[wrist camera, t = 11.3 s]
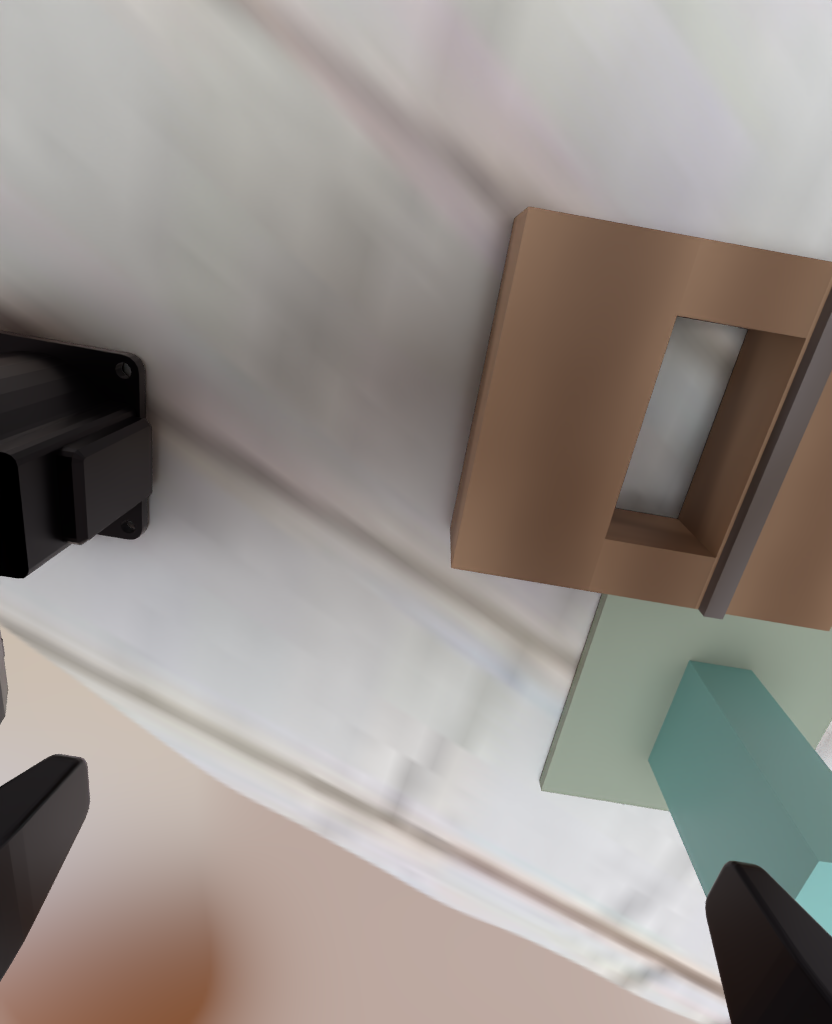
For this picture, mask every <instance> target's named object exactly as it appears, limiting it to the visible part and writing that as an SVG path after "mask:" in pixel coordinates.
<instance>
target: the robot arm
mask: <svg viewBox="0 0 832 1024" xmlns="http://www.w3.org/2000/svg"><path fill="white" fill-rule="evenodd" d="M123 363H126V364H128V366H129V367H130V368H131V372H132V373H131V376H130V377H129V376H127V375H125V373H124V372H123V370H122V365H123ZM151 493H152V427H151V425H150V424H149V422H148V421H147V419H146V391H145V368H144V365H143V363H142V361H141V360H140V359H139V358H138V357H137V356H136V355H133V354H130V353H126V352H120V351H114V350H108V349H103V348H97V347H91V346H86V345H80V344H74V343H68V342H63V341H57V340H51V339H45V338H40V337H34V336H28V335H23V334H17V333H11V332H5V331H0V576H6V577H12V578H25V577H26V576H28V575H29V574H30V573H32V572H33V571H35V570H36V569H37V568H39V567H40V566H42V565H43V564H44V563H46V562H47V561H49V560H50V559H51V558H53V557H54V556H56V555H57V554H58V553H60V552H61V551H62V550H64V549H65V548H67V547H68V546H69V545H71V544H78V545H82V544H84V543H86V542H87V541H88V540H90V539H91V538H92V537H94V536H95V535H96V534H99V535H105V536H111V537H117V538H123V539H136V538H138V537H139V536H141V535H142V534H143V533H144V532H145V531H146V529H147V525H148V522H147V497H148V496H149V495H150V494H151ZM127 520H129V521H131V522H132V523H133V524H134V525H135V529H133V528H130V527H129V526H128V524H127ZM4 656H5V654H4V646H3V639H2V638H1V632H0V724H1V722H2V720H3V719H4V717H5V713H6V703H7V694H8V685H7V678H6V670H5V662H4ZM89 804H90V793H89V779H88V766H87V762H86V761H85V760H84V759H83V758H81V757H76V756H69V755H62V754H55V755H52V756H50V757H48V758H46V759H44V760H43V761H41V762H39V763H38V764H36V765H34V766H33V767H31V768H30V769H28V770H26V771H25V772H23V773H22V774H20V775H18V776H17V777H15V778H14V779H12V780H10V781H9V782H7V783H5V784H4V785H2V786H1V787H0V981H1V979H2V978H3V976H4V975H5V973H6V971H7V970H8V968H9V966H10V965H11V963H12V961H13V960H14V958H15V956H16V954H17V953H18V951H19V949H20V948H21V946H22V944H23V942H24V941H25V939H26V937H27V935H28V933H29V931H30V929H31V927H32V925H33V923H34V921H35V919H36V917H37V915H38V913H39V911H40V909H41V907H42V905H43V903H44V901H45V899H46V897H47V895H48V893H49V891H50V889H51V887H52V885H53V883H54V881H55V879H56V877H57V875H58V873H59V870H60V869H61V867H62V865H63V863H64V861H65V859H66V856H67V854H68V853H69V851H70V848H71V846H72V844H73V842H74V840H75V838H76V836H77V834H78V832H79V830H80V828H81V826H82V824H83V822H84V820H85V818H86V815H87V812H88V809H89ZM705 909H706V918H707V922H708V926H709V931H710V935H711V939H712V943H713V948H714V952H715V956H716V960H717V965H718V969H719V973H720V978H721V982H722V986H723V990H724V995H725V999H726V1003H727V1007H728V1012H729V1016H730V1020H731V1024H832V936H831V935H830V934H829V933H828V932H827V931H826V930H825V929H824V928H823V927H822V926H821V925H820V924H819V923H818V922H817V921H816V920H815V919H814V918H813V917H812V916H811V915H810V914H809V913H808V912H807V911H806V910H805V909H804V908H803V907H802V906H801V905H800V904H799V903H798V902H797V901H796V900H795V899H793V898H792V897H791V896H790V895H789V894H788V893H787V892H786V891H785V890H784V889H783V888H782V887H781V886H780V885H779V884H778V883H777V882H776V881H775V880H774V879H773V878H772V877H771V876H770V875H769V874H768V873H767V872H766V871H765V870H764V869H763V868H761V867H760V866H758V865H756V864H752V863H746V862H739V861H729V862H727V863H725V864H724V866H723V867H722V869H721V871H720V873H719V875H718V877H717V879H716V880H715V882H714V884H713V886H712V888H711V890H710V891H709V893H708V895H707V899H706V906H705Z"/></svg>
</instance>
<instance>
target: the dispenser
mask: <svg viewBox="0 0 832 1024" xmlns="http://www.w3.org/2000/svg"><path fill="white" fill-rule="evenodd" d="M677 316H679V317H685V318H690V319H696V320H702V321H707V322H713V323H718V324H724V325H729V326H735V327H740V328H746V329H748V332H747V334H746V337H745V340H744V343H743V345H742V348H741V351H740V353H739V356H738V359H737V361H736V364H735V367H734V369H733V372H732V375H731V377H730V380H729V383H728V386H727V388H726V391H725V394H724V396H723V399H722V402H721V404H720V407H719V410H718V412H717V415H716V418H715V420H714V423H713V426H712V429H711V431H710V434H709V437H708V439H707V442H706V445H705V447H704V450H703V453H702V455H701V458H700V461H699V464H698V466H697V469H696V472H695V474H694V477H693V480H692V482H691V485H690V488H689V490H688V493H687V496H686V498H685V501H684V504H683V507H682V509H681V512H680V515H679V517H678V519H675V518H669V517H663V516H657V515H652V514H646V513H640V512H634V511H628V510H622V509H617V508H615V506H616V503H617V500H618V497H619V494H620V490H621V487H622V484H623V481H624V478H625V475H626V472H627V469H628V466H629V463H630V460H631V456H632V453H633V450H634V447H635V444H636V441H637V438H638V435H639V432H640V429H641V426H642V422H643V419H644V416H645V413H646V410H647V407H648V404H649V401H650V398H651V395H652V392H653V388H654V385H655V382H656V379H657V376H658V373H659V370H660V367H661V364H662V361H663V357H664V354H665V351H666V348H667V345H668V342H669V339H670V336H671V333H672V330H673V327H674V323H675V320H676V317H677ZM450 541H451V568H454V569H460V570H466V571H472V572H478V573H484V574H490V575H496V576H502V577H508V578H514V579H520V580H526V581H532V582H538V583H544V584H550V585H556V586H561V587H567V588H573V589H579V590H585V591H591V592H597V593H603V594H609V595H615V596H621V597H627V598H633V599H639V600H645V601H651V602H657V603H663V604H669V605H674V606H680V607H686V608H692V609H698V610H699V611H700V612H701V614H702V615H703V616H704V617H710V618H715V619H721V620H723V618H724V616H725V614H728V615H734V616H740V617H746V618H752V619H758V620H764V621H770V622H776V623H782V624H787V625H793V626H799V627H805V628H811V629H817V630H823V631H830V629H831V627H832V262H829V261H823V260H818V259H812V258H807V257H802V256H796V255H791V254H785V253H780V252H774V251H769V250H763V249H758V248H752V247H747V246H742V245H736V244H731V243H725V242H720V241H714V240H709V239H703V238H698V237H692V236H687V235H682V234H676V233H671V232H665V231H660V230H654V229H649V228H643V227H638V226H632V225H627V224H622V223H616V222H611V221H605V220H600V219H594V218H589V217H583V216H578V215H572V214H567V213H562V212H556V211H551V210H545V209H540V208H534V207H528V208H526V209H525V210H524V211H523V212H522V213H520V214H519V215H518V216H517V217H516V218H514V223H513V227H512V232H511V237H510V242H509V247H508V252H507V256H506V261H505V266H504V271H503V276H502V280H501V285H500V290H499V295H498V300H497V305H496V309H495V314H494V319H493V324H492V329H491V334H490V338H489V343H488V348H487V353H486V358H485V363H484V367H483V372H482V377H481V382H480V387H479V392H478V396H477V401H476V406H475V411H474V416H473V421H472V425H471V430H470V435H469V440H468V445H467V449H466V454H465V459H464V464H463V469H462V474H461V478H460V483H459V488H458V493H457V498H456V503H455V507H454V512H453V517H452V522H451V527H450Z"/></svg>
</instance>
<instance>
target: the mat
mask: <svg viewBox="0 0 832 1024" xmlns="http://www.w3.org/2000/svg"><path fill="white" fill-rule="evenodd" d="M689 660H690V661H697V662H703V663H709V664H715V665H722V666H728V667H734V668H740V669H747V670H752V671H753V673H754V674H755V675H756V676H757V678H758V679H759V680H760V682H761V683H762V684H763V685H764V687H765V688H766V689H767V690H768V692H769V693H770V694H771V695H772V697H773V698H774V699H775V701H776V702H777V703H778V704H779V706H780V707H781V708H782V709H783V711H784V712H785V713H786V714H787V716H788V717H789V718H790V720H791V721H792V722H793V723H794V725H795V726H796V727H797V728H798V730H799V731H800V732H801V733H802V735H803V736H804V737H805V739H806V740H807V741H808V742H809V744H810V745H811V746H812V747H813V749H814V750H815V749H816V747H817V745H818V743H819V742H820V740H821V738H822V736H823V735H824V733H825V731H826V729H827V727H828V726H829V724H830V722H831V720H832V627H831V629H830V631H823V630H817V629H811V628H805V627H799V626H793V625H787V624H782V623H776V622H770V621H764V620H758V619H752V618H746V617H740V616H734V615H728V614H725V616H724V618H723V620H721V619H715V618H710V617H704V616H703V615H702V614H701V612H700V611H699V610H698V609H692V608H686V607H680V606H674V605H669V604H663V603H657V602H651V601H645V600H639V599H633V598H627V597H621V596H615V595H609V594H603V593H602V596H601V599H600V602H599V605H598V608H597V611H596V614H595V617H594V620H593V623H592V626H591V629H590V632H589V635H588V638H587V641H586V644H585V647H584V650H583V653H582V656H581V659H580V662H579V665H578V668H577V671H576V674H575V677H574V680H573V683H572V686H571V689H570V692H569V695H568V698H567V701H566V704H565V707H564V710H563V712H562V715H561V718H560V721H559V724H558V727H557V730H556V733H555V736H554V739H553V742H552V745H551V748H550V751H549V754H548V757H547V760H546V763H545V766H544V769H543V772H542V775H541V778H540V787H541V791H545V792H552V793H558V794H564V795H571V796H577V797H583V798H589V799H596V800H602V801H608V802H614V803H621V804H627V805H633V806H639V807H646V808H652V809H658V810H664V811H669V808H668V806H667V804H666V801H665V799H664V797H663V794H662V792H661V790H660V787H659V785H658V783H657V780H656V778H655V776H654V773H653V771H652V769H651V766H650V764H649V761H648V759H649V756H650V754H651V751H652V749H653V747H654V744H655V742H656V739H657V737H658V734H659V732H660V730H661V727H662V725H663V722H664V720H665V718H666V715H667V713H668V710H669V708H670V706H671V703H672V701H673V698H674V696H675V693H676V691H677V689H678V686H679V684H680V681H681V679H682V677H683V674H684V672H685V669H686V667H687V665H688V662H689Z"/></svg>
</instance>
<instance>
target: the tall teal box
mask: <svg viewBox="0 0 832 1024" xmlns="http://www.w3.org/2000/svg"><path fill="white" fill-rule="evenodd" d="M648 761H649V764H650V766H651V769H652V771H653V773H654V776H655V778H656V780H657V783H658V785H659V787H660V790H661V792H662V794H663V797H664V799H665V801H666V804H667V806H668V808H669V811H670V813H671V815H672V818H673V820H674V822H675V825H676V827H677V829H678V832H679V834H680V836H681V839H682V841H683V844H684V846H685V848H686V851H687V853H688V855H689V858H690V860H691V862H692V865H693V867H694V869H695V872H696V874H697V876H698V879H699V881H700V883H701V886H702V888H703V890H704V893H705V895H706V897H707V895H708V893H709V891H710V890H711V888H712V886H713V884H714V882H715V880H716V879H717V877H718V875H719V873H720V871H721V869H722V867H723V866H724V864H725V863H727V862H729V861H739V862H746V863H752V864H756V865H758V866H760V867H761V868H763V869H764V870H765V871H766V872H767V873H768V874H769V875H770V876H771V877H772V878H773V879H774V880H775V881H776V882H777V883H778V884H779V885H780V886H781V887H782V888H783V889H784V890H785V891H786V892H787V893H788V894H789V895H790V896H791V897H792V898H793V899H795V900H796V901H797V902H798V903H799V904H800V905H801V906H802V907H803V908H804V909H805V910H806V911H807V912H808V913H809V914H810V915H811V916H812V917H813V918H814V919H815V920H816V921H817V922H818V923H819V924H820V925H821V926H822V927H823V928H824V929H825V930H826V931H827V932H828V933H829V934H830V935H831V936H832V771H831V770H830V769H829V768H828V766H827V765H826V764H825V763H824V761H823V760H822V759H821V758H820V756H819V755H818V754H817V752H816V751H815V750H814V749H813V747H812V746H811V745H810V744H809V742H808V741H807V740H806V739H805V737H804V736H803V735H802V733H801V732H800V731H799V730H798V728H797V727H796V726H795V725H794V723H793V722H792V721H791V720H790V718H789V717H788V716H787V714H786V713H785V712H784V711H783V709H782V708H781V707H780V706H779V704H778V703H777V702H776V701H775V699H774V698H773V697H772V695H771V694H770V693H769V692H768V690H767V689H766V688H765V687H764V685H763V684H762V683H761V682H760V680H759V679H758V678H757V676H756V675H755V674H754V673H753V671H752V670H747V669H740V668H734V667H728V666H722V665H715V664H709V663H703V662H697V661H690V660H689V662H688V665H687V667H686V669H685V672H684V674H683V677H682V679H681V681H680V684H679V686H678V689H677V691H676V693H675V696H674V698H673V701H672V703H671V706H670V708H669V710H668V713H667V715H666V718H665V720H664V722H663V725H662V727H661V730H660V732H659V734H658V737H657V739H656V742H655V744H654V747H653V749H652V751H651V754H650V756H649V759H648Z"/></svg>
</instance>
